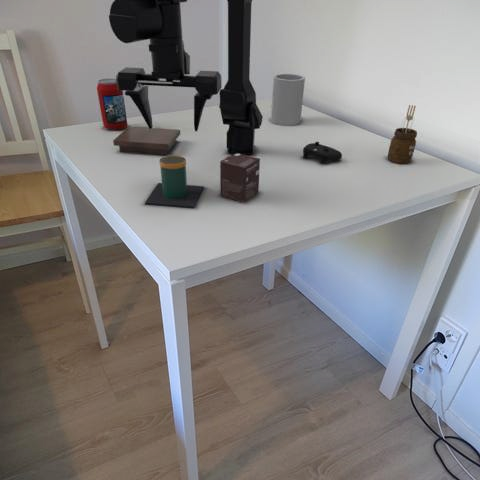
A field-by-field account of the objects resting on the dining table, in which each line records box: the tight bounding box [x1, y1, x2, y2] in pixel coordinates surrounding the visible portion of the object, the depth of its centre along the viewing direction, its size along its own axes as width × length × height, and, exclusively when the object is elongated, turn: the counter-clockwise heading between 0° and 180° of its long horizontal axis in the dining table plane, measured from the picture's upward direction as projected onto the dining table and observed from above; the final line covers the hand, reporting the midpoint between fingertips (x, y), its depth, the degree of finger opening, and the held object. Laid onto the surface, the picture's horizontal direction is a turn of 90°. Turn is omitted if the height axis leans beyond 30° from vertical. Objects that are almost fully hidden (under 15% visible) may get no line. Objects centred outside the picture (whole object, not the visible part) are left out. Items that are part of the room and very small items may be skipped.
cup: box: [270, 73, 306, 127], centre depth 127 cm, size 9×9×12 cm
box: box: [219, 153, 261, 203], centre depth 87 cm, size 6×6×7 cm
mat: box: [144, 182, 205, 209], centre depth 88 cm, size 10×10×1 cm
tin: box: [158, 154, 188, 199], centre depth 85 cm, size 5×5×7 cm
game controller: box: [302, 141, 343, 164], centre depth 106 cm, size 10×5×6 cm
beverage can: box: [96, 78, 128, 131], centre depth 118 cm, size 7×7×12 cm
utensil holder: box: [387, 104, 418, 165], centre depth 103 cm, size 6×6×12 cm
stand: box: [112, 125, 181, 156], centre depth 109 cm, size 14×12×3 cm
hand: (173, 129), depth 84 cm, fingers open, 9 cm apart
